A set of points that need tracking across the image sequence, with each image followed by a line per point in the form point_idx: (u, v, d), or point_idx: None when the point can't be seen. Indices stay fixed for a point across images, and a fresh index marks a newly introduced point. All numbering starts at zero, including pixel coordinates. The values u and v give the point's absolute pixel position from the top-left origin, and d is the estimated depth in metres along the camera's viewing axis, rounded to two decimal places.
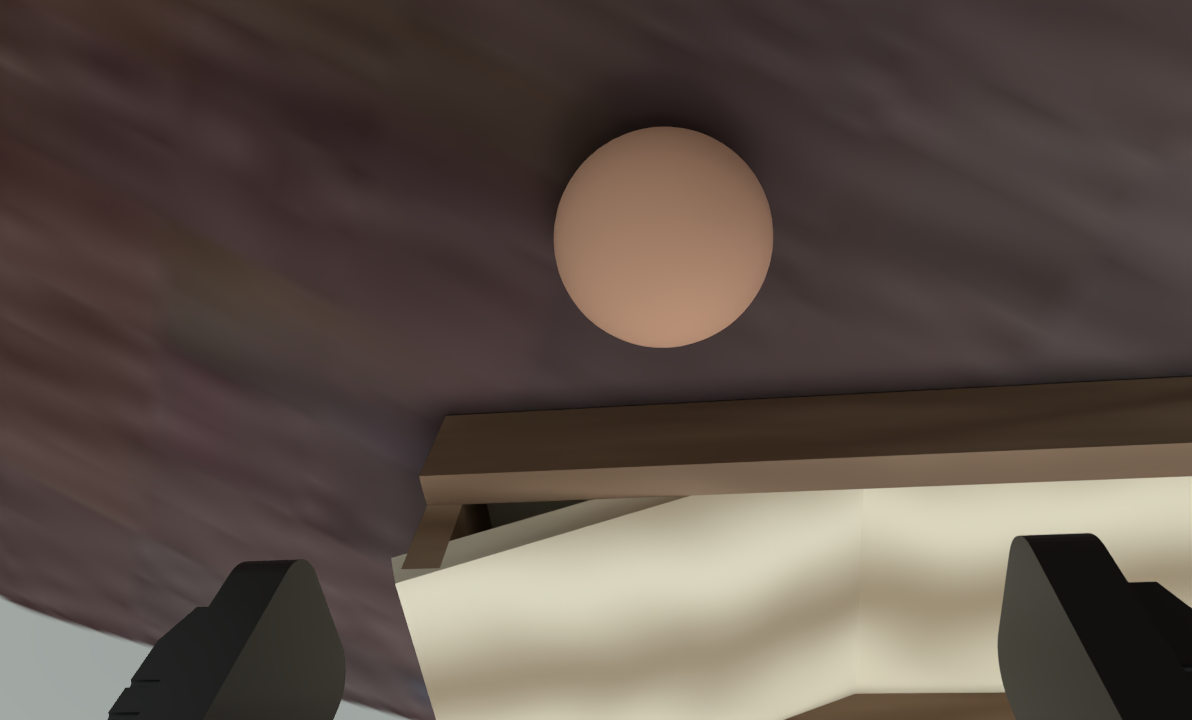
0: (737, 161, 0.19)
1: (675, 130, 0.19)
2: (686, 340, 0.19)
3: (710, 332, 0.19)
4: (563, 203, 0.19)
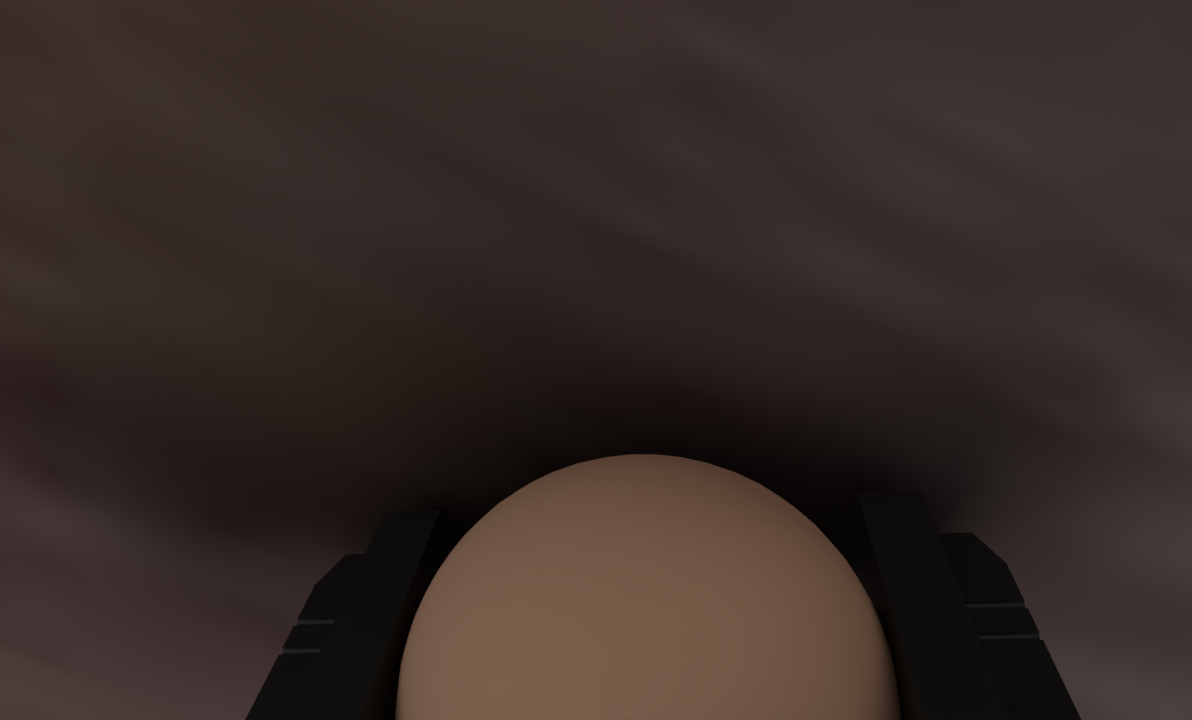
0: (824, 586, 0.08)
1: (672, 505, 0.08)
2: None
3: None
4: (407, 665, 0.08)
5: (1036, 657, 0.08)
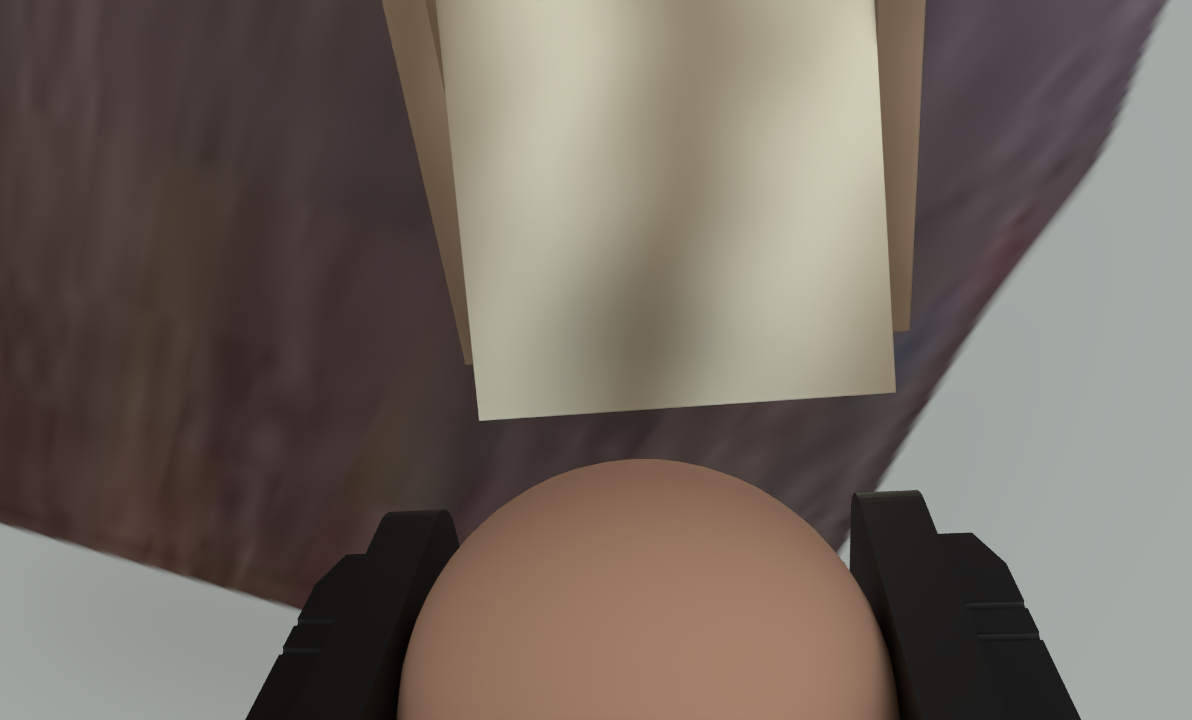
0: (824, 591, 0.08)
1: (672, 510, 0.08)
2: None
3: None
4: (409, 669, 0.08)
5: (1036, 657, 0.08)
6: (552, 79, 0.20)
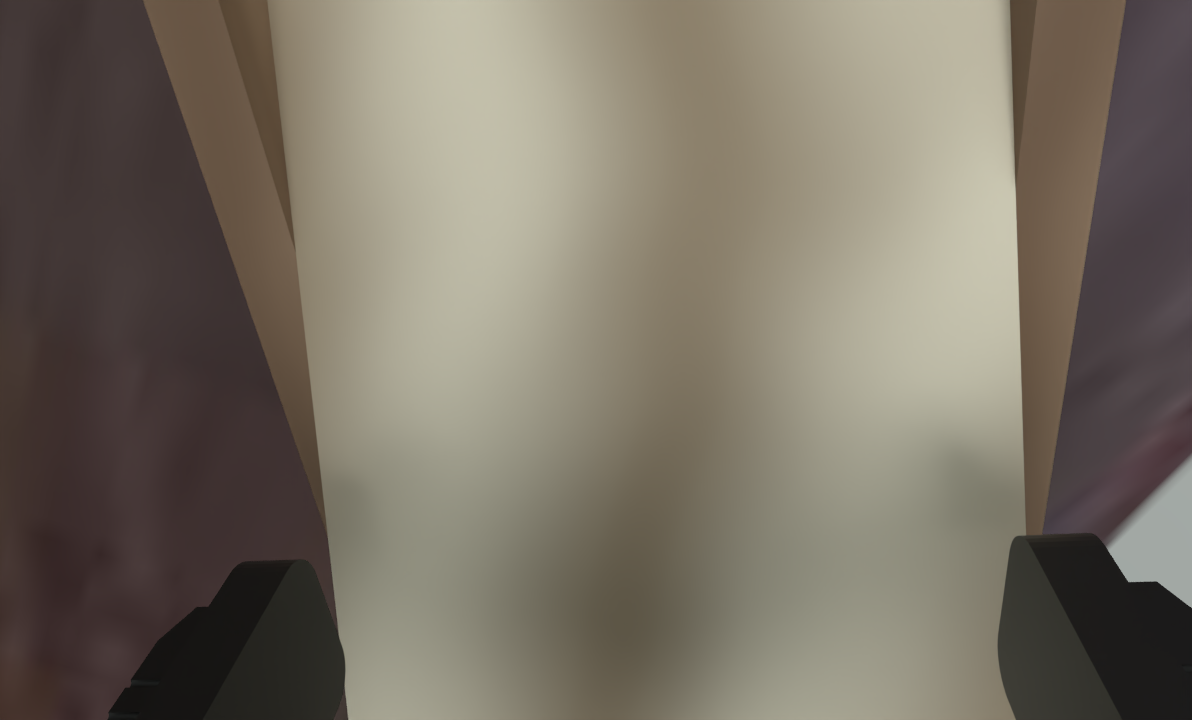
0: None
1: None
2: None
3: None
4: None
5: None
6: (467, 227, 0.12)
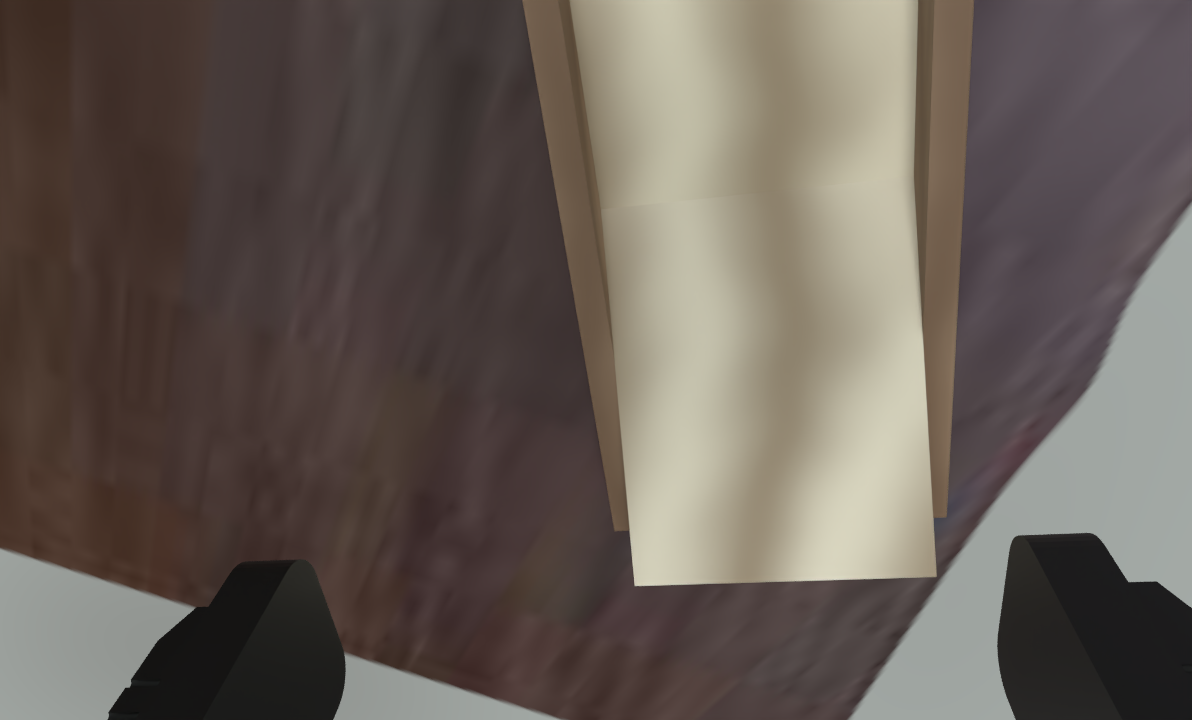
0: None
1: None
2: None
3: None
4: None
5: None
6: (691, 352, 0.29)
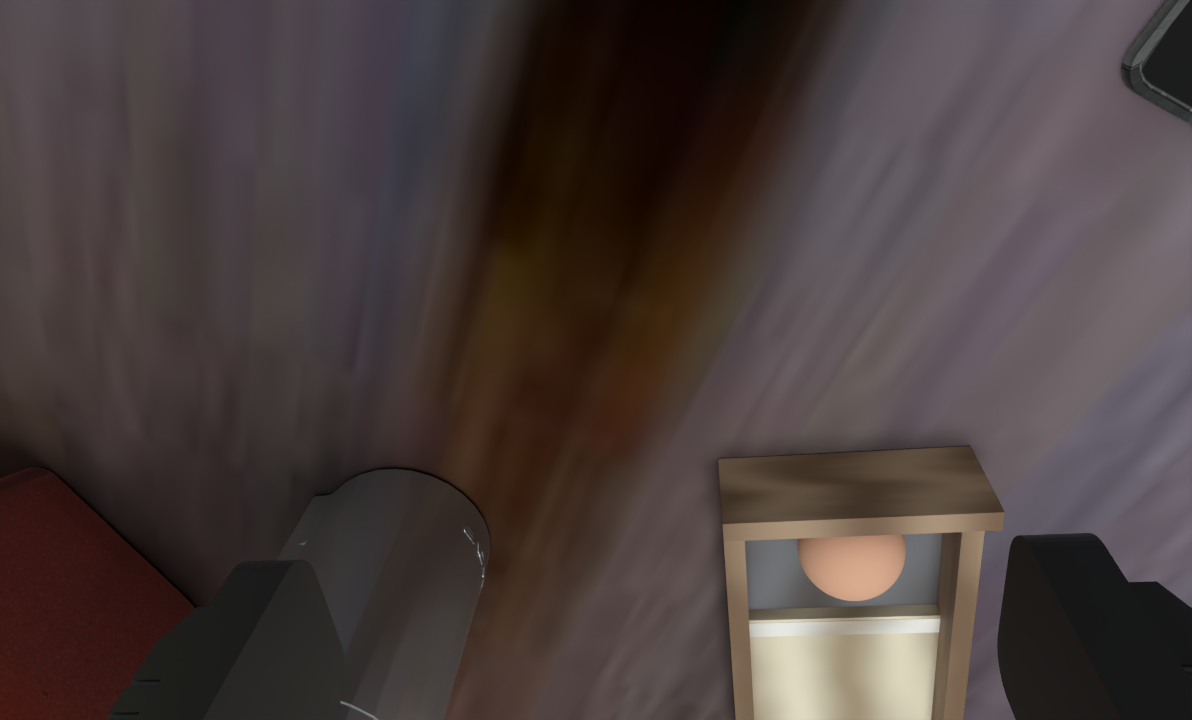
0: (895, 549, 0.40)
1: (868, 541, 0.39)
2: None
3: None
4: (810, 560, 0.40)
5: None
6: None
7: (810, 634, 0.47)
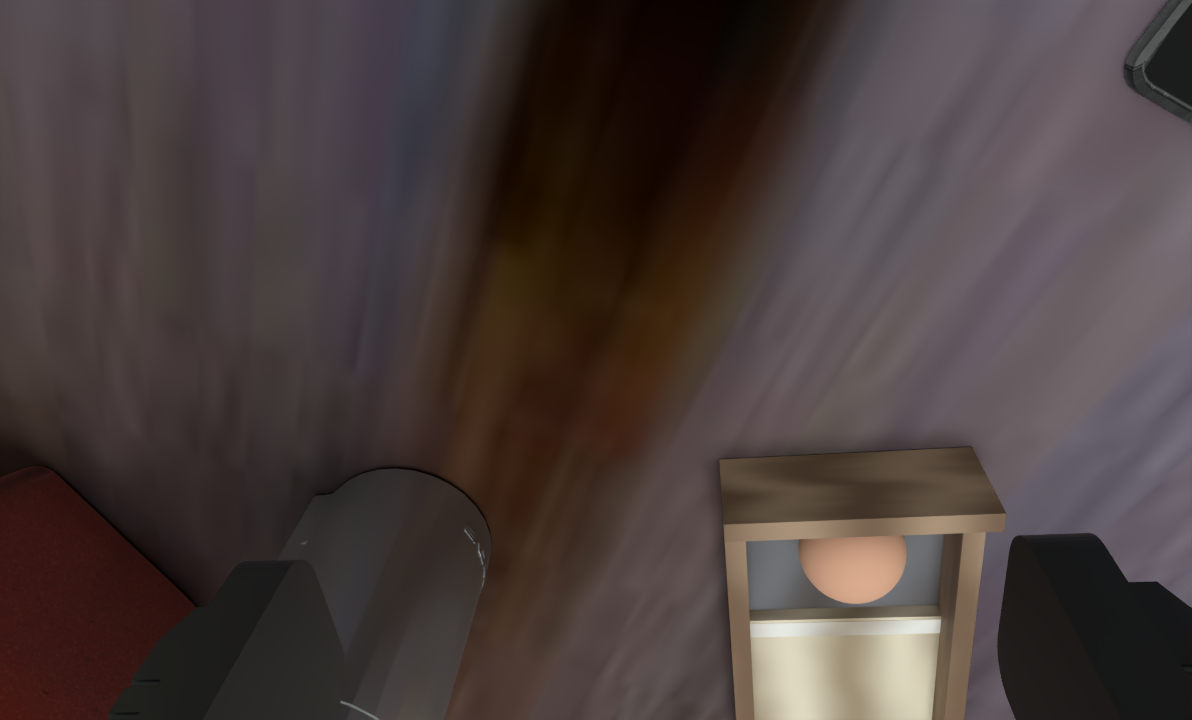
0: (897, 554, 0.40)
1: (869, 547, 0.39)
2: None
3: None
4: (811, 564, 0.40)
5: None
6: None
7: (811, 635, 0.47)
